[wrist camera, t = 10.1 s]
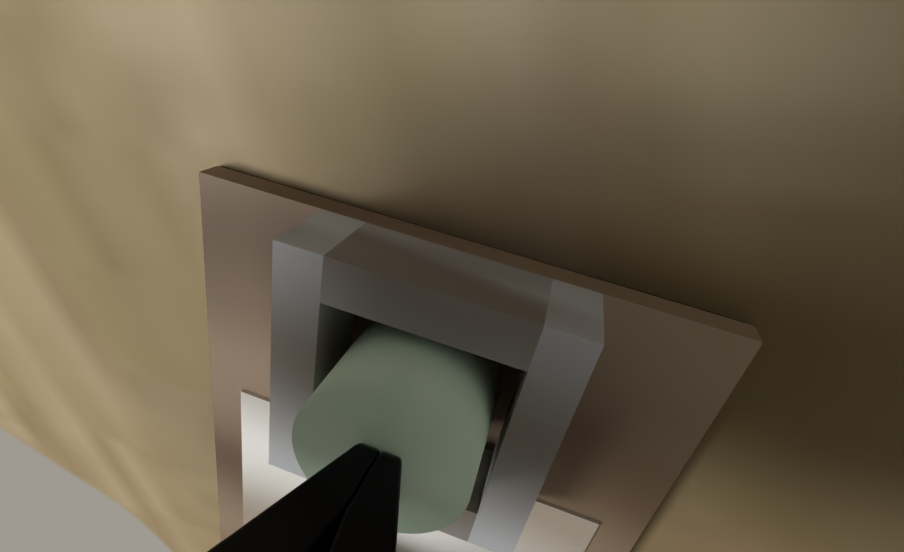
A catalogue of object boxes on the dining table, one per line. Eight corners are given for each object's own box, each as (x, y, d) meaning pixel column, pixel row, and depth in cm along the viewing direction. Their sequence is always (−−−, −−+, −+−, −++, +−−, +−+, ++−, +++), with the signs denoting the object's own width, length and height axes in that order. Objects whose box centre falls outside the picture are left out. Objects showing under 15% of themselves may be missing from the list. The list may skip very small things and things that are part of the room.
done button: (481, 448, 11) (450, 558, 9) (351, 401, 12) (288, 493, 10) (518, 334, 10) (493, 431, 7) (366, 285, 10) (295, 361, 8)
